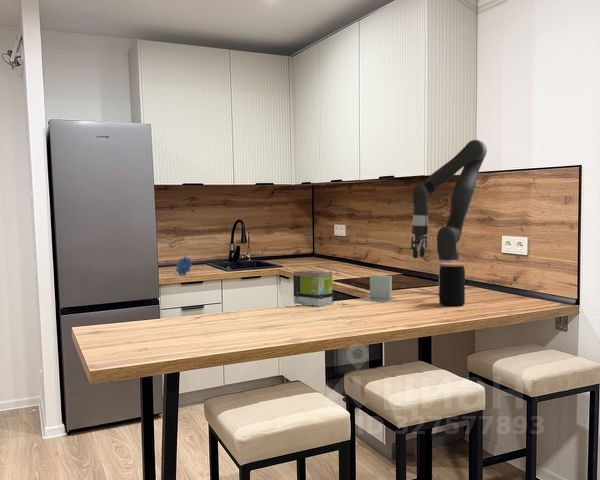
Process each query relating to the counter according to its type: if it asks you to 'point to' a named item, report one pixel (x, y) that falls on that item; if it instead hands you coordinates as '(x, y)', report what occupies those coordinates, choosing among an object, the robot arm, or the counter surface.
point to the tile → (381, 286)
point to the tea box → (312, 287)
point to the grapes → (183, 266)
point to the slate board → (375, 299)
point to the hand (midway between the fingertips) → (418, 257)
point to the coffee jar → (452, 284)
